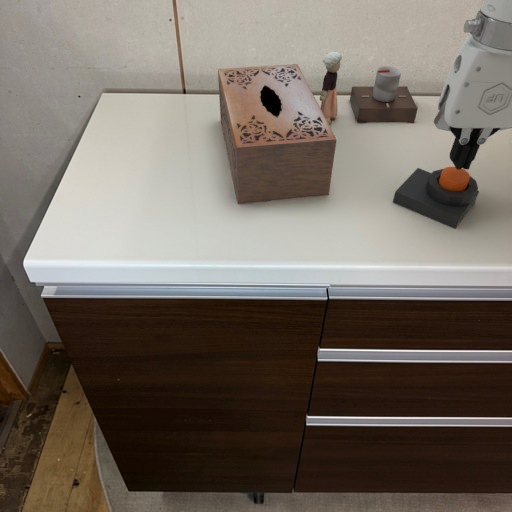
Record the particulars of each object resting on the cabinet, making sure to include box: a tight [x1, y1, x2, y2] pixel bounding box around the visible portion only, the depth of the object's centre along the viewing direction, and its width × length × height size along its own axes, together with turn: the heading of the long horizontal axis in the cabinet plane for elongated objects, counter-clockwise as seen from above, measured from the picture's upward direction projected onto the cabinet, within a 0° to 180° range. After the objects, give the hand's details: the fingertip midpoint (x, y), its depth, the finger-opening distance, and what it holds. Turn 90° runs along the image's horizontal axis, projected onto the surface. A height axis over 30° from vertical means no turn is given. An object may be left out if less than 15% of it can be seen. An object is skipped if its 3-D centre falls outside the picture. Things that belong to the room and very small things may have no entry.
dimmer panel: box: [349, 86, 419, 124], centre depth 92 cm, size 11×9×3 cm
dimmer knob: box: [373, 66, 402, 102], centre depth 89 cm, size 4×4×5 cm
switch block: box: [392, 167, 480, 230], centre depth 72 cm, size 10×8×4 cm
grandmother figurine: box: [319, 51, 343, 126], centre depth 87 cm, size 8×4×13 cm, turn 168°
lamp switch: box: [439, 166, 471, 192], centre depth 70 cm, size 4×4×2 cm
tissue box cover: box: [217, 63, 337, 205], centre depth 79 cm, size 26×14×10 cm, turn 9°
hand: (459, 163), depth 68 cm, fingers closed
